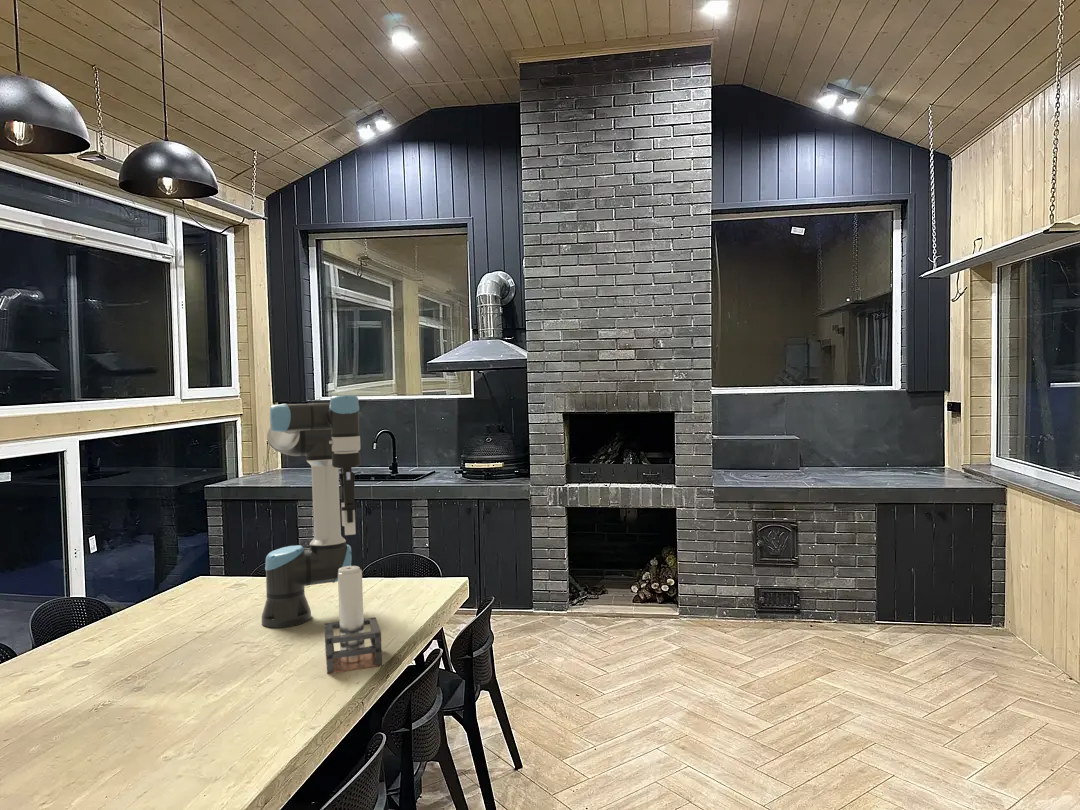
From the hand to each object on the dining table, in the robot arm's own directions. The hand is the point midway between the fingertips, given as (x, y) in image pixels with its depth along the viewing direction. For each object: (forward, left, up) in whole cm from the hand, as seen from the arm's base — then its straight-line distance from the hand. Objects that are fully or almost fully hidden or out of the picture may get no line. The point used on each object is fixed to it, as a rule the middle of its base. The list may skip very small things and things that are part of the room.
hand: (348, 530), depth 193 cm
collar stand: (0, 0, -36) cm, 36 cm away
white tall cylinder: (0, 0, -35) cm, 35 cm away
